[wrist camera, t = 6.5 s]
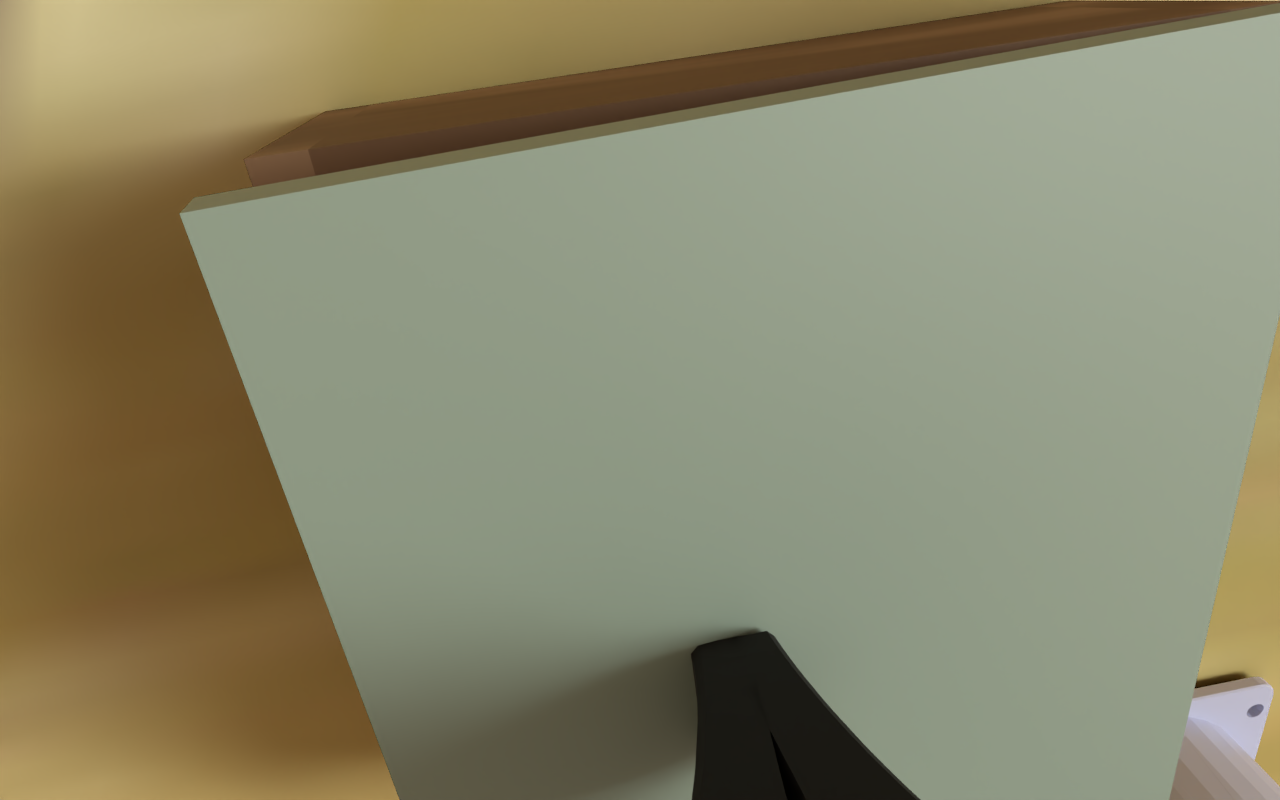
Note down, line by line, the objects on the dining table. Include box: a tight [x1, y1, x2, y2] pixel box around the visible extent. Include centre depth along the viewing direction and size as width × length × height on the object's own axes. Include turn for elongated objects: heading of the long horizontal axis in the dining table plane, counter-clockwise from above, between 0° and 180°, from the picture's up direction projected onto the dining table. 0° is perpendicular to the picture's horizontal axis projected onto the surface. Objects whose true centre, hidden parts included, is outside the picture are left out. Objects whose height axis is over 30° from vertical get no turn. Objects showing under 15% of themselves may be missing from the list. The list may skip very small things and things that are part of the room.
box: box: [244, 1, 1280, 187], centre depth 17 cm, size 16×14×5 cm
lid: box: [179, 3, 1280, 800], centre depth 13 cm, size 16×14×1 cm
